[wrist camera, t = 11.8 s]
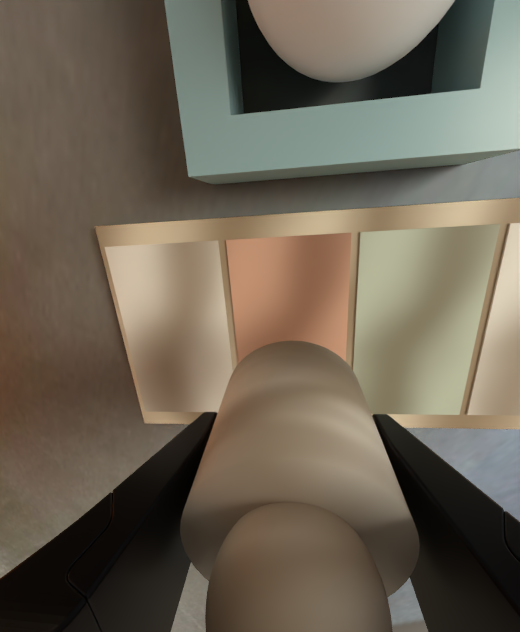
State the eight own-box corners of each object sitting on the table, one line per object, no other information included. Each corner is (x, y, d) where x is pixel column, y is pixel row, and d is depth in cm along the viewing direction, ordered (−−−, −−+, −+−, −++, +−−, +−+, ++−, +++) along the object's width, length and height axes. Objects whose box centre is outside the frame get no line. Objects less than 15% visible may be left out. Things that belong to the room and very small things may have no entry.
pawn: (365, 339, 9) (568, 688, 2) (357, 454, 10) (466, 848, 4) (219, 341, 9) (65, 636, 3) (233, 450, 11) (153, 795, 5)
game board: (665, 187, 12) (687, 186, 11) (574, 422, 16) (586, 431, 15) (102, 225, 15) (93, 226, 14) (148, 416, 19) (143, 424, 18)
